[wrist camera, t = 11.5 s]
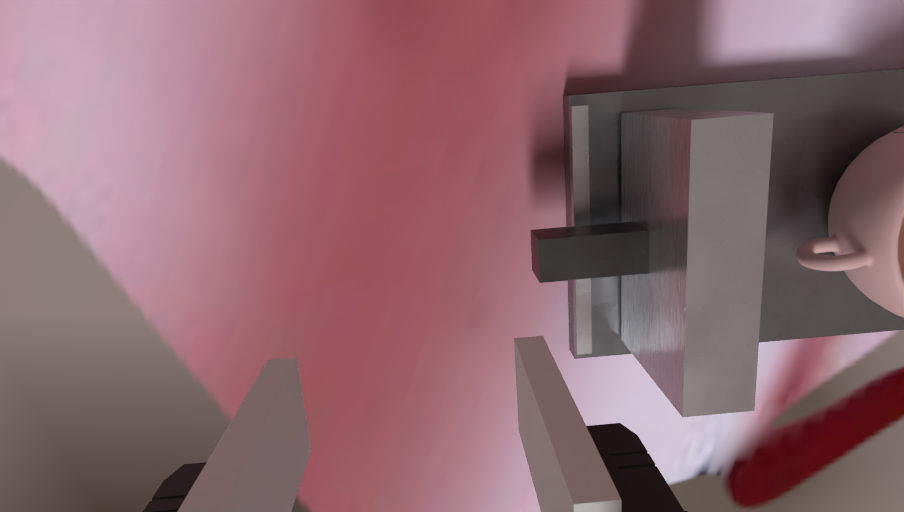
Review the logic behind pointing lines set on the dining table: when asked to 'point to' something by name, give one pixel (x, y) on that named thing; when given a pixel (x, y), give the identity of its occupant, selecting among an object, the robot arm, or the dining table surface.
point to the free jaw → (683, 251)
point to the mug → (867, 225)
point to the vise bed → (789, 197)
